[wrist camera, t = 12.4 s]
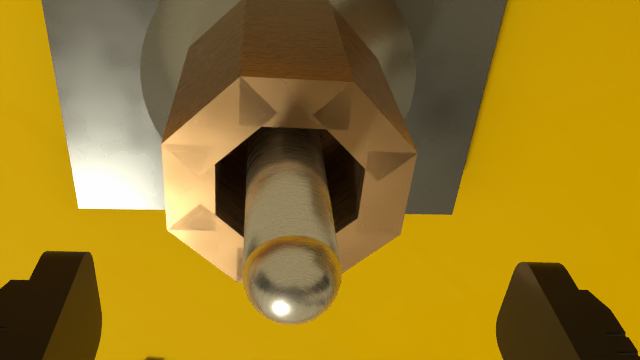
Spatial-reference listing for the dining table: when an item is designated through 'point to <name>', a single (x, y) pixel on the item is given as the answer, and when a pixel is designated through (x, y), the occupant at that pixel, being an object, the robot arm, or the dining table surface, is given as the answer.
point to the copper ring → (284, 111)
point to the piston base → (137, 143)
